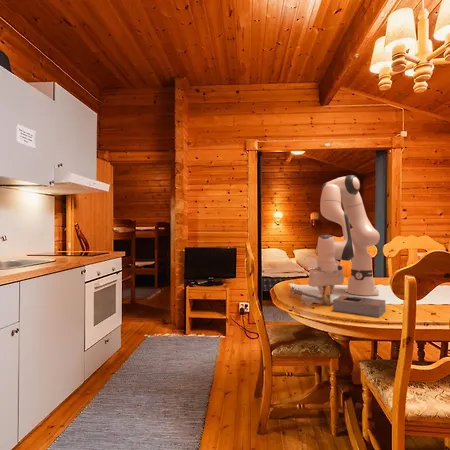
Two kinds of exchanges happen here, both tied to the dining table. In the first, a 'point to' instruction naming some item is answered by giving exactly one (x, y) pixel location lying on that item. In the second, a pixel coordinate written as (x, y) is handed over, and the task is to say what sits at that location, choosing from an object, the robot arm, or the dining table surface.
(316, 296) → the caliper
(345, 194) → the robot arm
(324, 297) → the block
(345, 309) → the block
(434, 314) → the dining table surface
